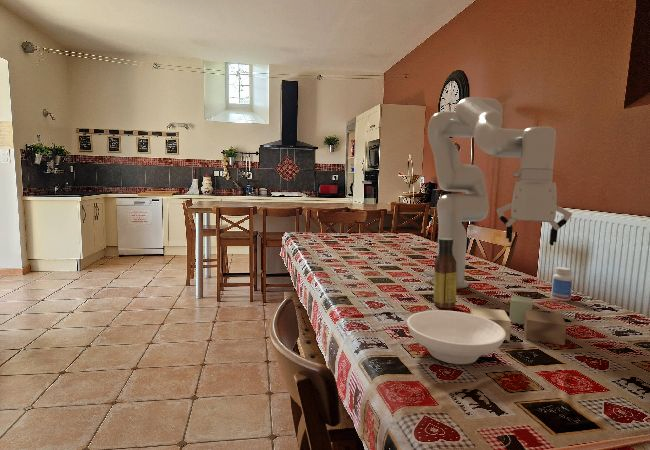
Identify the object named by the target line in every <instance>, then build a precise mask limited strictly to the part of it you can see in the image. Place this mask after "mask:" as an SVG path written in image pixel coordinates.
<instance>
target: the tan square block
mask: <svg viewBox="0 0 650 450" xmlns="http://www.w3.org/2000/svg"><path fill="white" fill-rule="evenodd" d="M522 327H523V328H524V329H523V332H524V333H525V334H524V333H523V334H524V339H525V338H526V339H529V340H528V341H533V340H536V341H535V342H539V341H541V343H546V342H548V343H547V344H552V343H553V345H560V346H565V343H566V335H567V334H566V333H567V323H566V321H565V319H564V317H563V315H562V314H560V313H554V312H546V311H545V312H544V311H537V310H533V309H532V310H525V315H524V325H523V326H522ZM526 339H525V340H526Z"/></svg>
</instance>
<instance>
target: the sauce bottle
mask: <svg viewBox="0 0 650 450" xmlns="http://www.w3.org/2000/svg"><path fill="white" fill-rule="evenodd" d="M438 243H439V254H438V256H437V255H436V258H435V259H434V269H433V270H434V284H433V305H434V306H435V307H436V308H440V309H447V310H449V309H453V308H455V307H456V302H457V289H456V274H457V271H456V260H455V258H454V256H453V254H452V253H453V252H452V247H453V239H452V238H439V242H438V241H437V244H438Z"/></svg>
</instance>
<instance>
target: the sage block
mask: <svg viewBox="0 0 650 450" xmlns="http://www.w3.org/2000/svg"><path fill="white" fill-rule="evenodd" d="M509 303H510V304H509V316H508V317H509V319H510V320H511V322H512V323H511V324H516V323H517V325H523V324H524V315H525V310H532V311H533V299H532V297H525V296H518V295H510V302H509Z"/></svg>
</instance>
